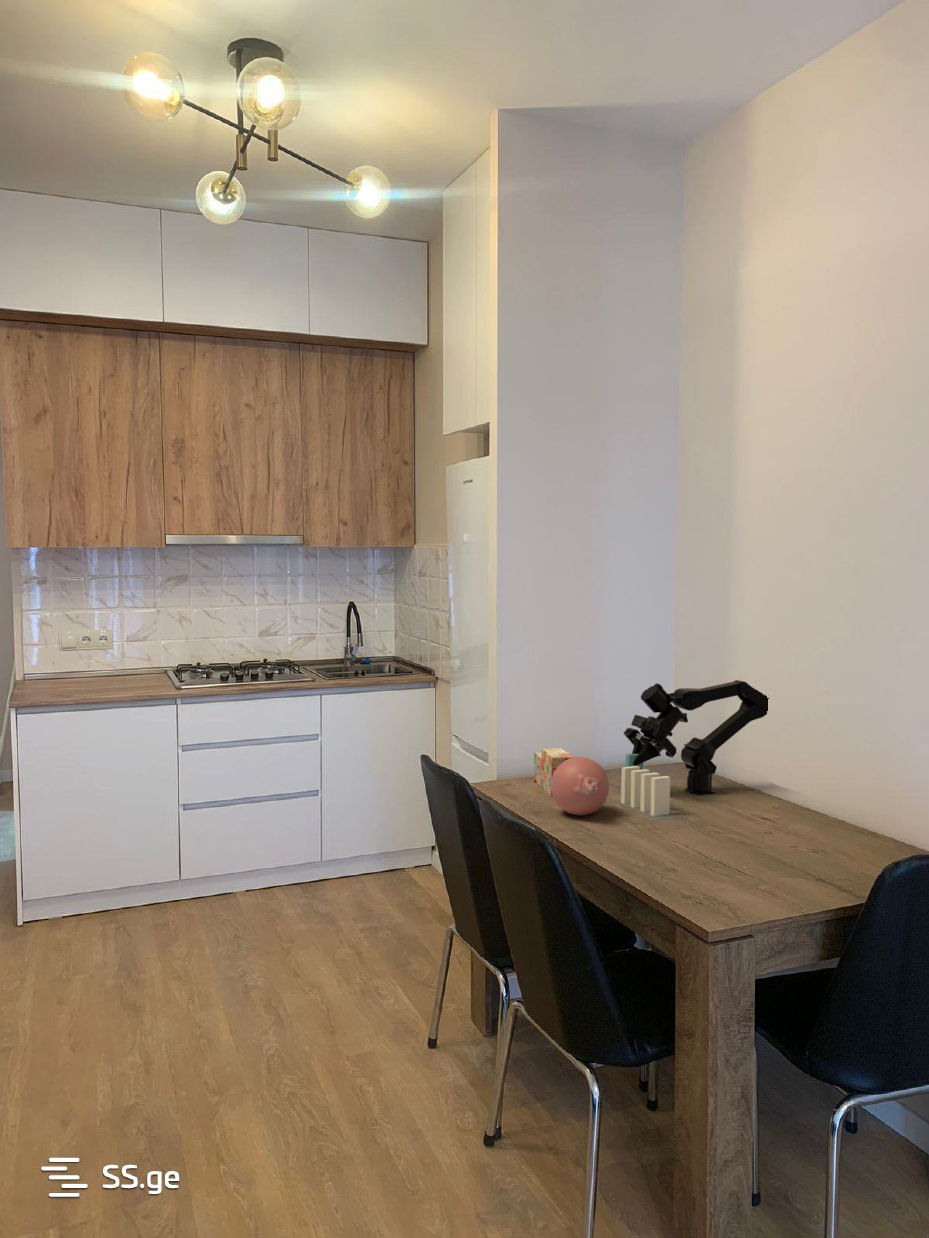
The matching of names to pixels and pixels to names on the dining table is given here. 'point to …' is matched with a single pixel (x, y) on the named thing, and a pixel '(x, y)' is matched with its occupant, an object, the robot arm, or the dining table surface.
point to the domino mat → (660, 817)
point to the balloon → (580, 786)
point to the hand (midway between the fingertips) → (632, 764)
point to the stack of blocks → (548, 766)
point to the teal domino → (632, 760)
